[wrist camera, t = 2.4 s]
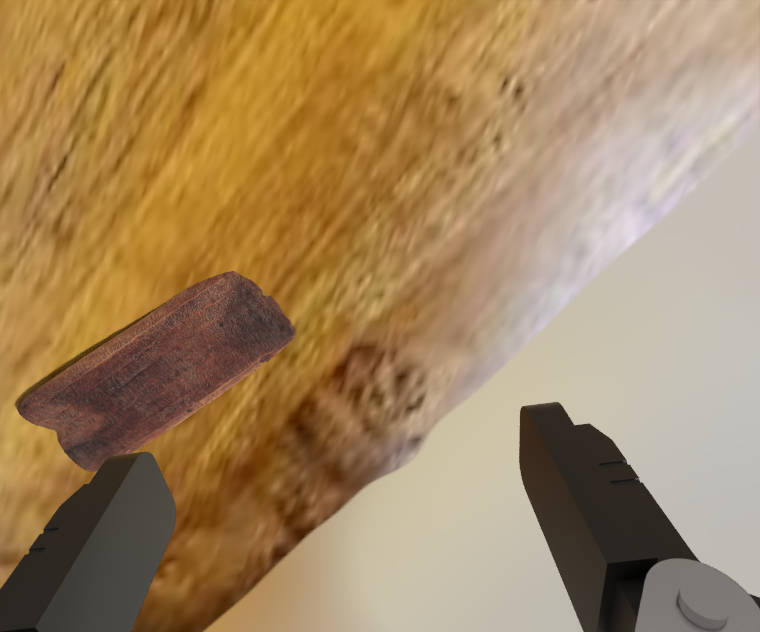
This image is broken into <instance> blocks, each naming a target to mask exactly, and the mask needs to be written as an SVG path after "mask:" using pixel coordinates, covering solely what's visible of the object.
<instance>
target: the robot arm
mask: <svg viewBox="0 0 760 632" xmlns="http://www.w3.org/2000/svg"><path fill="white" fill-rule="evenodd" d="M519 452H520V453H519V463H520V470H521V476H522V480H523V484H524V487H525V490H526V492H527V495H528V497H529V500H530V502H531V505H532V507H533V510H534V512H535V514H536V517H537V519H538V522H539V524H540V527H541V529H542V531H543V534H544V536H545V539H546V541H547V543H548V546H549V548H550V551H551V553H552V556H553V558H554V561H555V563H556V566H557V568H558V571H559V573H560V575H561V578H562V580H563V582H564V585H565V588H566V590H567V592H568V595H569V597H570V600H571V602H572V605H573V607H574V609H575V612H576V614H577V617H578V619H579V621H580V624H581V626H582V629H583V631H584V632H760V598H759V597H756V596H753V595H751V594H748V593H747V592H746V591H745V590H744V589H743V588H742V587H741V586H740V585H739V584H738V583H737V582H736V581H734V580H733V579H731V578H730V577H729V576H727V575H726V574H724V573H722V572H721V571H719V570H717V569H715V568H713V567H711V566H709V565H706V564H704V563H701V562H700V561H699V560H698V559H697V558H696V556H695V555H694V554H693V553H692V551H691V550H690V548H689V547H688V546H687V544H686V543H685V541H684V540H683V539H682V537H681V536H680V534H679V533H678V532H677V530H676V529H675V528H674V526H673V525H672V523H671V522H670V520H669V519H668V518H667V516H666V515H665V513H664V512H663V511H662V509H661V508H660V506H659V505H658V504H657V502H656V501H655V500H654V498H653V497H652V495H651V494H650V493H649V491H648V490H647V488H646V487H645V486H644V484H643V483H640V481H639V477H638V476H637V474H636V473H635V472H634V470H633V469H632V467H631V466H630V465H628V464H627V461H626V459H625V457H624V456H623V455H622V453H621V452H620V450H619V449H618V448H617V446H616V445H615V444H614V442H613V441H612V440H611V439H610V438H609V437H607V436H606V435H604V434H603V433H602V432H600V431H599V430H597V429H596V428H595V427H593V426H592V425H591V424H582V425H574V424H573V422H572V421H571V419H570V418H569V417H568V414H567V413H566V412H565V410H564V408H563V407H562V405H561V404H560V403H558V402H553V403H545V404H537V405H529V406H523V407H522V408H521V411H520V449H519ZM175 521H176V507H175V502H174V499H173V497H172V495H171V493H170V491H169V488H168V486H167V484H166V482H165V480H164V478H163V475H162V473H161V471H160V469H159V467H158V465H157V462H156V460H155V458H154V457H153V455H152V454H151V453H149V452H141V453H133V454H125V455H117V456H111V457H109V458H108V459H106V460H105V462H104V463H103V464H102V466H101V467H100V469H99V470H98V472H97V473H96V475H95V476H94V477H93V479H92V480H91V482H90V483H89V484H84V485H83V486H82V487H81V488H80V489H79V490H78V491H76V492H75V493H74V494H73V495H72V496H71V497H70V498H68V499H67V500H66V501H65V502H64V503H63V504H62V505H61V506H60V507H59V508H58V510H57V511H56V513H55V514H54V515H53V517H52V518H51V519H50V521H49V522H48V524H47V525H46V526H45V528H44V529H43V530H44V533H43V534H40V535H39V536H38V538H37V539H36V540H35V542H34V543H33V545H32V546H31V547H30V549H29V554H27V555H25V556H24V557H23V559H22V560H21V561H20V563H19V564H18V566H17V567H16V568H15V570H14V571H13V573H12V574H11V575H10V577H9V578H8V580H7V581H6V582H5V584H4V585H3V587H2V588H1V589H0V632H131V630H132V628H133V625H134V623H135V621H136V618H137V616H138V614H139V611H140V609H141V606H142V604H143V602H144V599H145V597H146V595H147V592H148V590H149V587H150V585H151V583H152V580H153V578H154V576H155V573H156V571H157V568H158V566H159V564H160V561H161V559H162V557H163V554H164V552H165V549H166V547H167V545H168V542H169V540H170V538H171V535H172V533H173V530H174V526H175Z"/></svg>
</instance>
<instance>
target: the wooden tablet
mask: <svg viewBox="0 0 760 632" xmlns="http://www.w3.org/2000/svg"><path fill="white" fill-rule="evenodd" d="M295 335H296V331H295V329H294V327H293V326H292V324H291V322H290V320H289V319H288V318H287V317H286V316H285V315H284V313H283V312H282V310H281V308H280V306H279V304H278V303H277V302H276V301H275V300H274V299H273V298H272V297H271V296H266V295H264V294H263V292H262V290H261V289H260V288H259V287H258V286H257V285H256V284H255V283H254V282H253V281H251V280H249V279H247V278H245V277H243V276H241V275H240V274H239V273H237V272H235V271H231V272H225V273H223V274H220V275H217V276H214V277H211V278H208V279H206V280H204V281H201V282H199V283H196V284H195V285H193V286H191V287H189V288H187V289H185V290H183V291H182V292H181V293H179V294H178V295H176V296H175V297H173V298H172V299H171V300H169V301H168V302H166V303H165V304H163V305H162V306H160V307H158V308H157V309H156V310H154V311H153V312H151V313H150V314H149V315H147V316H145V317H144V318H143V319H141V320H140V321H138V322H137V323H136V324H134V325H132V326H131V327H129V328H128V329H126V330H125V331H123V332H122V333H120V334H118V335H117V336H115V337H114V338H112V339H111V340H109V341H108V342H106V343H105V344H103V345H102V346H100V347H98V348H97V349H95V350H94V351H92V352H91V353H89V354H87V355H86V356H84V357H83V358H82V359H80V360H79V361H77V362H76V363H74V364H73V365H71V366H70V367H68V368H67V369H66V370H64V371H63V372H61V373H60V374H58V375H57V376H55V377H54V378H52V379H51V380H49V381H47V382H46V383H44V384H43V385H42V386H40V387H38V388H37V389H36V390H34V391H33V392H32V393H30V394H29V395H28V396H27V397H25V398H24V399H23V400H22V401H21V402H20V404H19V406H18V412H19V414H20V415H21V416H22V417H23V418H25V419H26V420H28V421H29V422H31V423H33V424H35V425H37V426H41V427H45V428H48V429H52V430H55V431H56V432H57V436H58V440H59V443H60V445H61V446H62V448H63V450H64V452H65V453H66V454H67V455H68V456H69V457H70V458H71V459H72V460H73V461H74V462H75V463H76V464H77V465H78V466H80V467H81V468H82V469H84V470H87V471H89V472H93V471H98V470H99V469H100V467H101V466H102V464H103V463H104V462H105V460H106V459H108V458H109V457H111V456H117V455H125V454H131V453H132V452H134V451H136V450H138V449H140V448H141V447H143V446H144V445H146V444H148V443H149V442H151V441H153V440H154V439H156V438H157V437H159V436H160V435H162V434H164V433H165V432H167V431H168V430H170V429H171V428H173V427H175V426H176V425H178V424H179V423H181V422H182V421H184V420H185V419H187V418H188V417H189V416H191V415H192V414H194V413H195V412H197V411H198V410H199V409H201V408H202V407H204V406H205V405H207V404H208V403H210V402H211V401H213V400H214V399H215V398H217V397H218V396H220V395H221V394H223V393H224V392H225V391H227V390H228V389H230V388H231V387H232V386H234V385H235V384H237V383H238V382H239V381H241V380H243V379H244V378H245V377H247V376H248V375H249V374H251V373H252V372H254V371H255V370H257V369H258V368H259V367H261V366H262V364H263V363H264V362H268V361H269V360H270V359H271V358H273V357H274V356H275V355H277V354H278V353H279V352H280V351H282V350H283V349H284V348H285V347H286V346H287V345H288V344H289V343H290V342H291V341H292V340H293V338H294V337H295Z"/></svg>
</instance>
